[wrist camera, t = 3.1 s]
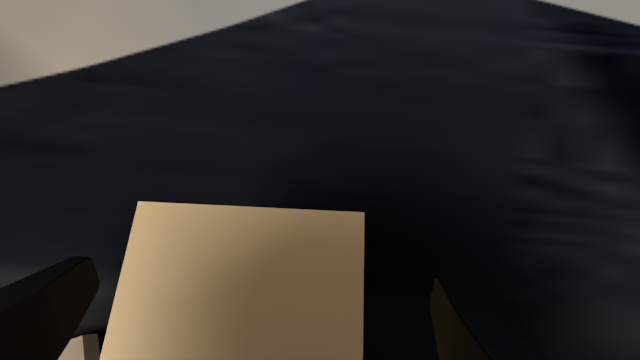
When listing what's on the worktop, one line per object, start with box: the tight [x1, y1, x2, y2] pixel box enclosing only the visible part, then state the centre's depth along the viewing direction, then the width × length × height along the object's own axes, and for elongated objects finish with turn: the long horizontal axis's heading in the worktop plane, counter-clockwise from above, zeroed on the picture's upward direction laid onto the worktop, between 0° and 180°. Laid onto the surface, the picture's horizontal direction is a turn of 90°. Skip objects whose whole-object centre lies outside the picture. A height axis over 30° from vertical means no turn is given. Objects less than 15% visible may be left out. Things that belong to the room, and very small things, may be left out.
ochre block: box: [99, 201, 365, 360], centre depth 11 cm, size 5×5×9 cm
